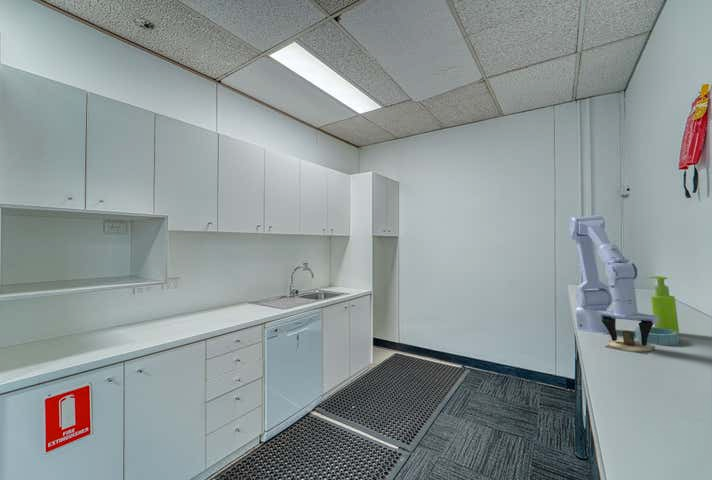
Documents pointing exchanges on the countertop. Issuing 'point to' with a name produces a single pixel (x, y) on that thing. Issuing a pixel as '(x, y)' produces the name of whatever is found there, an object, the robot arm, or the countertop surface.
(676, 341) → the bowl
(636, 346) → the lid
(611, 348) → the mat
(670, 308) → the soap dispenser
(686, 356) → the countertop surface
